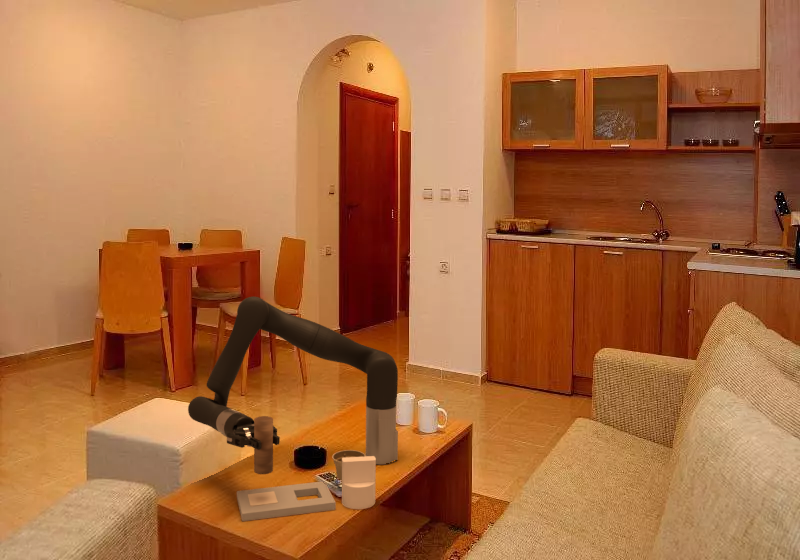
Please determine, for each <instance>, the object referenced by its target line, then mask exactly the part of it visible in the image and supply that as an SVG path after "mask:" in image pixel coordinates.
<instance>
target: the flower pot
mask: <svg viewBox="0 0 800 560" xmlns="http://www.w3.org/2000/svg"><path fill="white" fill-rule="evenodd" d="M346 457H366V453H365V452H362V451H360V450H354V449H344V450H339V451H336V452H335V453H333V454H332V456H331V458H332V460H333V463H334V466H335V471H336V472H335V473H336V479H337V478H339V479H340V480H342V458H346Z"/></svg>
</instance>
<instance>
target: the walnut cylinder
mask: <svg viewBox="0 0 800 560" xmlns="http://www.w3.org/2000/svg"><path fill="white" fill-rule="evenodd" d="M253 420H254V438H255V439H257V440H259V441H261V449H260V450H257V449H255V448H253V450H254V451H253V452H254V454H253V455H254V456H253V457H254V459H253V464H254V465H253V470H254V473H255V474H256V475H268V474H271V473H272V472H273V471H274V444H273V426H274V418H273V417H271V416H269V415H268V416H266V415H262V416H257V417H255V418H254V419H253Z"/></svg>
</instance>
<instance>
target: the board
mask: <svg viewBox="0 0 800 560" xmlns="http://www.w3.org/2000/svg"><path fill="white" fill-rule="evenodd" d="M308 496H309V497H310V496H317V497H316V498H315V497H314V498H308V499H300V500H298V498H301V497H308ZM236 500H237V504H238V508H239V514H240V518H241V522H248V521H254V520H255V521H256V520H263V519H271V518H279V517H288V516H295V515H302V514H303V515H304V514H311V513H313V514H314V513H319V512H328V511H336V505H337V504H336V503H337V502H336V500H335V498H334V497H333V495H332V493H331V491H330V489H329V487H328V485H327V484H326V485H325V484H324V483H323V482H322V481H317V482H316V481H315V482H307V483H296V484H288V485H279V486H278V485H277V486H271V487H264V488H253V489H252V488H251V489H244V490H237V491H236Z"/></svg>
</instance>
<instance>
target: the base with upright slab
mask: <svg viewBox="0 0 800 560" xmlns="http://www.w3.org/2000/svg"><path fill="white" fill-rule="evenodd" d="M376 465H377V464H376V458H375V457H374V456H366V457H346V458H342V487H341V504H342V506H344V507H345V508H347V509H351V510H364V509H369V508H371V507H373V506H374V505H375V504H376V467H377V466H376Z"/></svg>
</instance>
